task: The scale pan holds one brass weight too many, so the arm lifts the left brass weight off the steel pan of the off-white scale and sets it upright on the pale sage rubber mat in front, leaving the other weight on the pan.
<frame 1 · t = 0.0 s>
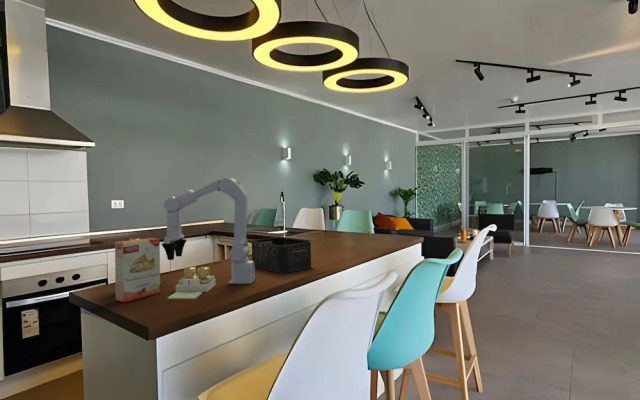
hand: (174, 258, 149), 10 cm above the worktop, tool pointing down, fingers open, 7 cm apart
brass weight 2: (204, 277, 140), point 4 cm above the worktop, touching scale pan
cracker box: (139, 297, 129), on the worktop
storage bin: (281, 267, 177), on the worktop
plastic bottle: (135, 289, 139), on the worktop
rubber mat: (185, 296, 129), on the worktop
scale pan: (197, 279, 140), point 3 cm above the worktop, slide at -0.6 cm, touching brass weight 2, brass weight 1
scale: (196, 288, 139), on the worktop
brass weight 1: (190, 277, 140), point 4 cm above the worktop, touching scale pan
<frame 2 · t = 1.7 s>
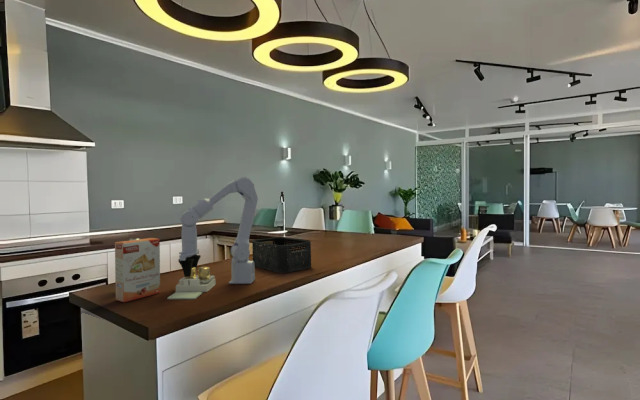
hand: (190, 275, 140), 5 cm above the worktop, tool pointing down, fingers closed on brass weight 1, 4 cm apart
brass weight 1: (190, 277, 140), point 4 cm above the worktop, touching gripper, scale pan
everything else where it was.
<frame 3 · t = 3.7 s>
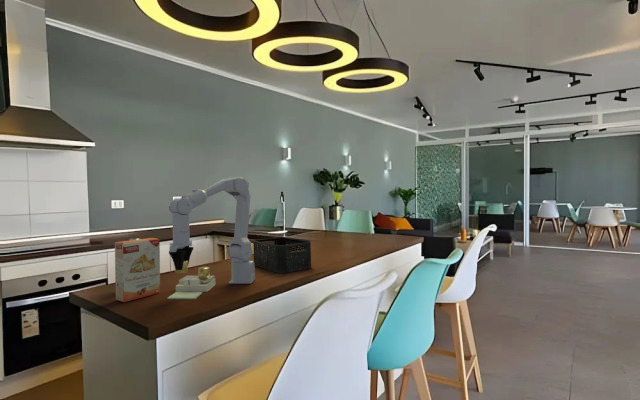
hand: (182, 268, 128), 10 cm above the worktop, tool pointing down, fingers closed on brass weight 1, 4 cm apart
scale pan: (197, 279, 140), point 3 cm above the worktop, slide at -0.5 cm, touching brass weight 2
brass weight 1: (181, 272, 128), point 9 cm above the worktop, touching gripper
everything else where it was.
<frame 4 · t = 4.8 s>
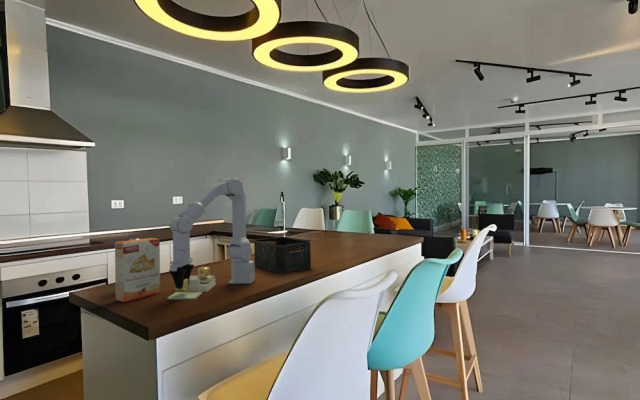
hand: (182, 286, 128), 4 cm above the worktop, tool pointing down, fingers closed on brass weight 1, 4 cm apart
brass weight 1: (182, 290, 128), point 2 cm above the worktop, touching gripper
when the fingers open (2 cm above the worktop, at t = 5.6 s): brass weight 1 stays where it is, resting on rubber mat.
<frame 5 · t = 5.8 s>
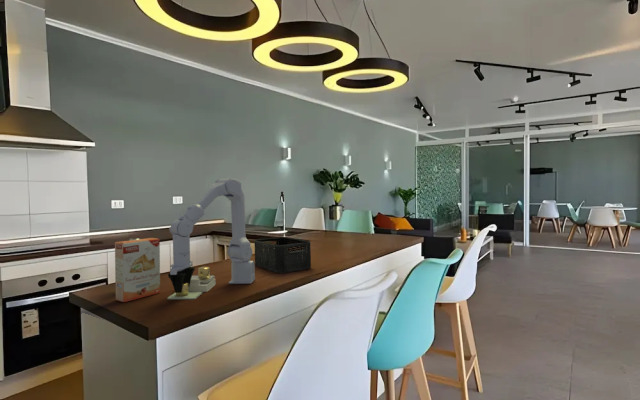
hand: (182, 289, 128), 2 cm above the worktop, tool pointing down, fingers open, 6 cm apart
brass weight 1: (182, 294, 129), point 1 cm above the worktop, touching rubber mat
everything else where it was.
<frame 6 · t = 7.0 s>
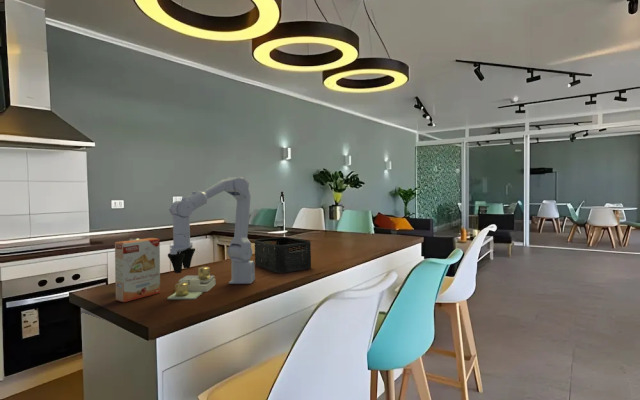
hand: (182, 270, 129), 9 cm above the worktop, tool pointing down, fingers open, 7 cm apart
nothing on the worktop moved.
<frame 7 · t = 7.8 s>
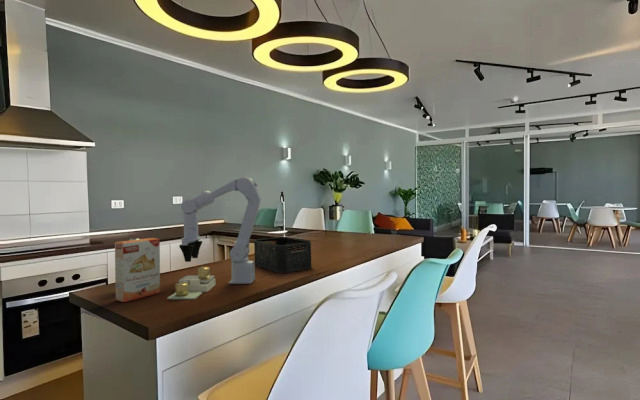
hand: (191, 259, 148), 9 cm above the worktop, tool pointing down, fingers open, 7 cm apart
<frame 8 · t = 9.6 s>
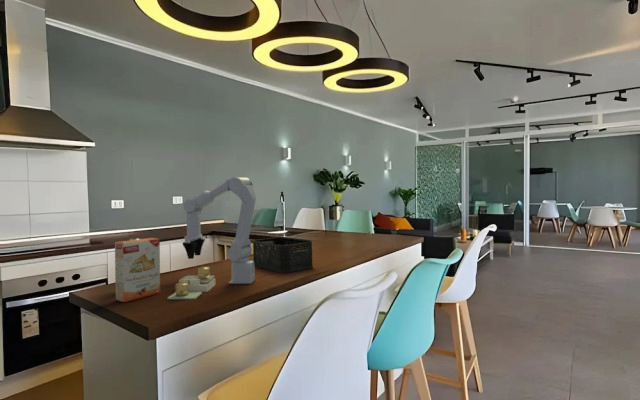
hand: (194, 256, 155), 9 cm above the worktop, tool pointing down, fingers open, 7 cm apart
at the end: brass weight 1 inside the target area on the rubber mat (1.2 cm from its centre), point 0.5 cm above the rubber mat's base; brass weight 1 tilted 1°; brass weight 2 inside the target area on the scale pan (0.8 cm from its centre), point 4.4 cm above the scale pan's base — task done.
